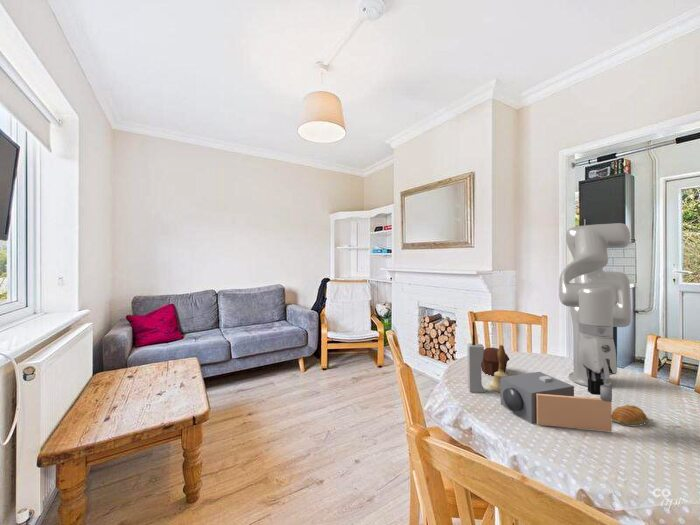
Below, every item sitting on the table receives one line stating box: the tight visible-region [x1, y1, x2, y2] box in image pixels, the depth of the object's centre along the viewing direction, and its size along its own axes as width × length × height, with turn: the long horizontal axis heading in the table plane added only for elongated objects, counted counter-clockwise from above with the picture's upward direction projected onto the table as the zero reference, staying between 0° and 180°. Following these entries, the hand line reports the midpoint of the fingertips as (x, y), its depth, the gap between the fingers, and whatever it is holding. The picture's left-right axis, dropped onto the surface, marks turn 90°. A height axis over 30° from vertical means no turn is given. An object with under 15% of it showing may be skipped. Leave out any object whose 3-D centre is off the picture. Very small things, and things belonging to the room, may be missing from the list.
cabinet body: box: [500, 371, 575, 425], centre depth 94 cm, size 18×12×10 cm
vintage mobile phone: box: [466, 321, 485, 394], centre depth 108 cm, size 4×5×25 cm
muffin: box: [481, 347, 510, 377], centre depth 124 cm, size 12×11×10 cm
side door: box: [536, 385, 613, 433], centre depth 83 cm, size 18×2×12 cm, turn 77°
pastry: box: [612, 404, 649, 426], centre depth 87 cm, size 9×7×4 cm
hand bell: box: [488, 344, 509, 393], centre depth 109 cm, size 8×8×16 cm
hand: (595, 393), depth 85 cm, fingers closed
